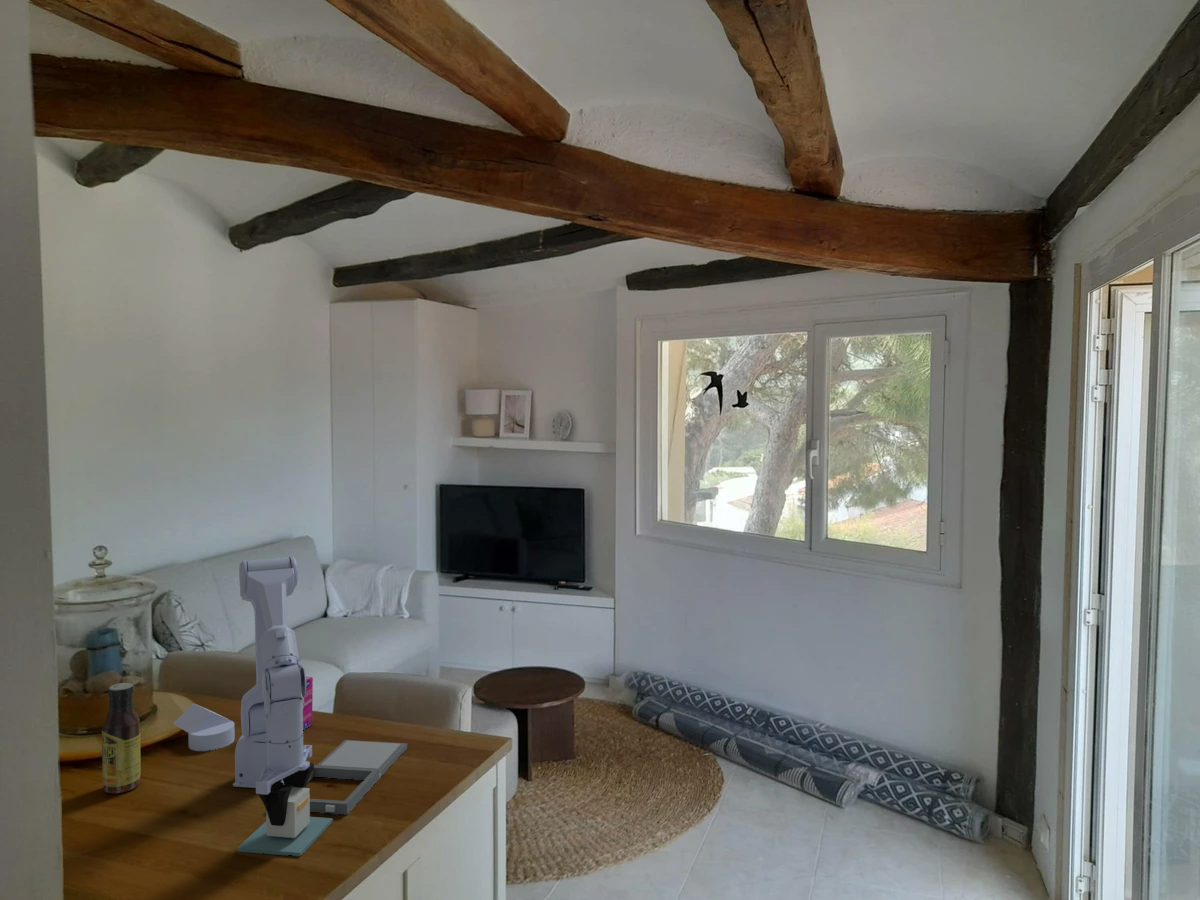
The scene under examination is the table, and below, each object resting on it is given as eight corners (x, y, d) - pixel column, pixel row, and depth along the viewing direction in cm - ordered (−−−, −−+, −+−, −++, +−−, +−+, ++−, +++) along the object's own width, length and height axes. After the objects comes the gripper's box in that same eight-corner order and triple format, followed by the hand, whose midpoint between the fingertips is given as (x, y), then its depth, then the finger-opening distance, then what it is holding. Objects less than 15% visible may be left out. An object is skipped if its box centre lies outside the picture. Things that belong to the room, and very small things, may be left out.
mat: (237, 851, 128) (237, 847, 128) (273, 817, 139) (273, 814, 139) (300, 856, 127) (300, 852, 127) (332, 821, 138) (332, 818, 138)
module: (266, 835, 131) (266, 800, 131) (282, 820, 136) (282, 786, 136) (295, 838, 130) (295, 802, 130) (310, 822, 135) (310, 788, 135)
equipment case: (271, 811, 141) (271, 800, 141) (345, 744, 170) (344, 735, 170) (345, 816, 139) (345, 805, 139) (407, 748, 168) (407, 738, 168)
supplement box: (299, 735, 175) (298, 684, 175) (275, 733, 176) (274, 682, 176) (313, 725, 181) (313, 676, 180) (290, 723, 182) (289, 674, 181)
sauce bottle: (98, 788, 150) (95, 685, 149) (134, 777, 155) (132, 677, 154) (109, 799, 146) (106, 693, 145) (146, 788, 150) (143, 685, 149)
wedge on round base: (173, 739, 173) (200, 754, 165) (172, 708, 173) (199, 723, 165) (214, 726, 180) (242, 741, 172) (213, 697, 180) (241, 710, 172)
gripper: (284, 756, 125) (285, 840, 125) (327, 721, 139) (329, 797, 140) (242, 754, 126) (244, 837, 126) (290, 719, 140) (291, 794, 141)
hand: (286, 816), depth 133 cm, fingers closed on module, 5 cm apart
